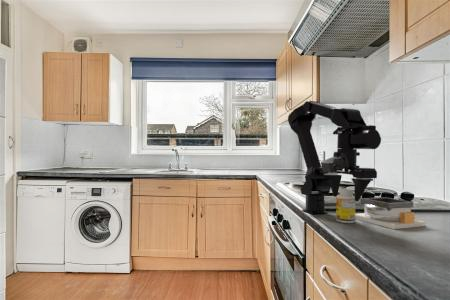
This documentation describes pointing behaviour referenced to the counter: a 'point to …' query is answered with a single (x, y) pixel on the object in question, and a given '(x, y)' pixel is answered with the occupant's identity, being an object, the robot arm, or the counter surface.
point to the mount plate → (390, 224)
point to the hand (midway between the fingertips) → (345, 198)
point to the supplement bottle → (345, 206)
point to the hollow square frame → (388, 210)
